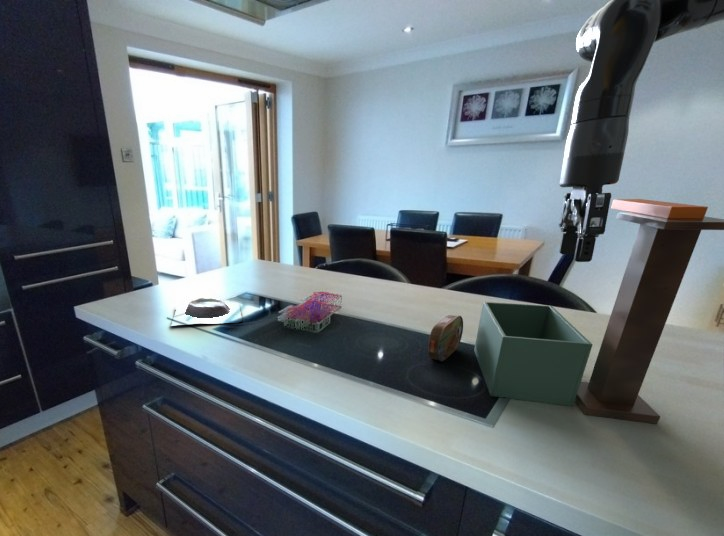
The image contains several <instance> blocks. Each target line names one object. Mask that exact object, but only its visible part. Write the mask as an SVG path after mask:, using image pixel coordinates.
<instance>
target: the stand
mask: <svg viewBox="0 0 724 536" xmlns="http://www.w3.org/2000/svg"><path fill="white" fill-rule="evenodd" d="M615 219H616V220H620V221H624V222H629V223H634V224H637V225H639V226H638V229H637V233H636V236H635V239H634V243H633V246H632V247H631V252H630V255H629V258H628V261H627V264H626V267H625V270H624V273H623V276H622V279H621V282H620V285H619V288H618V292H617V294H616V298H615V301H614V304H613V306H612V307H613V308H612V310H611V314H610V316H609V319H608V322H607V326H606V329H605V332H604V335H603V338H602V341H601V345H600V348H599V350H598V353H597V356H596V360H595V363H594V366H593V369H592V372H591V375H590V378H589V381H583V380H581V383H580V386H579V389H578V393H577V396H576V399H575V401H574V403H576V405H577V407H579V409H580V410H581V412H582V413H583V415H586V416H592V417H600V418H608V419H616V420H621V421H622V420H623V421H630V422H639V423H647V424H653V425H658V423H659V421H660V419H661V415H660V414H659V413H658V412H657V411H655V410H654V409H653V408H652V406H650V405H649V404H648V403H647V402H646V401H645V399H643V398H642V396H640V395H639V393H640V392H641V388H642V386H643V383H644V381H645V378H646V376H647V373H648V370H649V368H650V365H651V362H652V359H653V357H654V354H655V351H656V349H657V347H658V344H659V342H660V339H661V336H662V334H663V332H664V329H665V326H666V323H667V321H668V318H669V316H670V313H671V310H672V307H673V305H674V302H675V300H676V298H677V294H678V292H679V290H680V287H681V284H682V282H683V279H684V277H685V274H686V271H687V269H688V266H689V263H690V261H691V259H692V256H693V254H694V251H695V248H696V245H697V242H698V240H699V238H700V235H701V232H702V231H724V218H719V217H713V216H711V217H710V216H706V215H705V216H704V219H667V218H662V217H656V216H650V215H645V214H639V213H633V212H628V211H624V212H623V211H622V212H617V213H616V218H615Z"/></svg>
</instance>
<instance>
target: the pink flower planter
mask: <svg viewBox="0 0 724 536" xmlns="http://www.w3.org/2000/svg"><path fill="white" fill-rule="evenodd" d="M342 300H343V294H338V293H335V294H334V293H331V292H328V291H313V292H312V293H310V294H309V295H307V296H305V297H303V298H302V299H300V301H301V302H300V303H298V304H297V305H288V306H286V307H284V308H283V309H281V310H279V311H278V314H280V315H279V316H277V322H283V324H284V326H286V327H287V324H289V325H288V328H289V327H290V328H291V326H292V329H294V328H296V329H295V330H300V329H301V330H302V331H305V330H306V331H307V332H308V330H309V332H311V333H313V327H314V332H315V333H317V334H318V333H319V332H321V331H322V330H323V329H324V328H326V327H327V326H328V324H331V316H332V315H334V314H335V313H336V312H338V311H339V310H340V309H342V305H341V303H342V304H343V301H342ZM308 309H309V310H308ZM288 318H289V319H288ZM302 321H303V323H302ZM290 324H291V325H290ZM321 324H322V325H321ZM294 325H295V326H294ZM313 325H314V326H313ZM320 325H321V326H320ZM304 327H305V328H304ZM320 327H321V328H320ZM302 328H303V329H302ZM301 330H300V331H301Z"/></svg>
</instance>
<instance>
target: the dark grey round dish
mask: <svg viewBox="0 0 724 536" xmlns="http://www.w3.org/2000/svg"><path fill="white" fill-rule="evenodd" d="M225 303H226V302H224V301H223V300H221V299H217V298H204V297H200V298H197V299H194V300H190V302H189V304H187V305H188V307H187V309H186V312H185V314H186V315H190V316H192V317H197V318H213V317H219V316H223V315H225V314H228V313H229V312H230V311H229V310H230V308H229V307H228V306H227V305H226V304H225Z"/></svg>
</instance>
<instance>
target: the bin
mask: <svg viewBox="0 0 724 536" xmlns="http://www.w3.org/2000/svg"><path fill="white" fill-rule="evenodd" d="M593 346H594V345H593V343H592V342H590V341H589V339H587V338H586V337H585V335H583V333H581V332H580V331H579V330H578V329H577V328H576V327H575V326H574V325H573V324H572V323H571V322H569V320H567V319H566V317H564V316H563V314H561V313H560V312H559V311H558V310H557V309H556V308H555V307H554V306H553V305H542V304H528V303H526V304H525V303H513V302H512V303H510V302H493V301H483V302H482V305H481V311H480V318H479V322H478V328H477V333H476V338H475V344H474V349H473V350H474V354H475V357H476V360H477V363H478V365H479V369H480V372H481V374H482V377H483V380H484V382H485V385H486V388H487V391H488V393H489V396H490V397H494V398H495V397H496V398H503V397H506V398H505V399H511V400H518V401H519V400H521V401H527V402H535V403H543V404H551V405H558V406H559V405H560V406H568V407H574V405H575V399H576V396H577V393H578V389H579V386H580V383H581V381H583V380H582V379H583V376H584V374H585V371H586V367H587V363H588V360H589V358H590V354H591V351H592V348H593Z"/></svg>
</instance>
